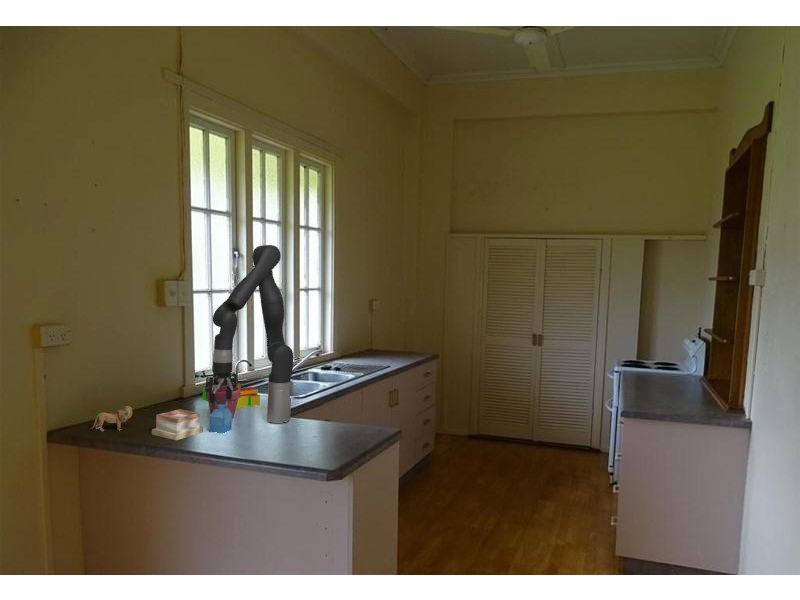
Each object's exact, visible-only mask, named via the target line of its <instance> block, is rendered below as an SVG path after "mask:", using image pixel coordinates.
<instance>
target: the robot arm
mask: <svg viewBox="0 0 800 600" xmlns="http://www.w3.org/2000/svg"><path fill="white" fill-rule="evenodd" d="M281 257H282V255H281V251H280V249H279V248H278V247H277V245H274V244H264V245H258V246H257V247H255V248H254V249H253V252H252V263H253V266H254V267H253V268H252V269H251V271H250V272H249V273H248V274H247V275H246V276H244V277H243V279H241V280H240V281H239V282H238V284H236V286H235V287H234V288H233V290H232V292H231V293H230V295H229V296H228V298H227V299H226V300H224V301H223V302H222V304H220V306H218V307H217V308H216V310H215V311H214V314H213V316H212V323H213V325H215V326H216V327H219V333H217V334H216V335H215V336H214V342H213V352H212V353H213V354H212V369H211V371H212V376H206V379H205V386H206V387H205V386H204V387H205V392H208V393H209V401H210V403H215V395H216V394H215V393H216V391H217V389H219V387H222V386H225V387H226V388H227V390H226V399H227V400H231V398H232V390H233V389H234V388H236V387H237V383H238V374H237V373H235V372H233V362H234V352H233V347H234V337H235V334H236V331H237V327H238V316H237V314H236V312H238V311H240V310H242V309H244V308H245V306H246V305H247V303H248V302H249V300H250V299H251V297H252V295H253V294H254V293H255V291H256V290H257V288H258V291H259V292H258V293H259V297H260V298H259V299H260V308H261V313H262V318H263V324H264V329H265V336H266V338H265V339H266V354H267V359H268V360H269V362H270V363H271V370H270V371H271V372H270V373H269V374H268V381H267V410H266V411H267V412H266V422H267V421H268V422H267V423H269V422H273V423H272V424H274V423H279V422H285V421H287V420H289V419H290V420H291V412H292V411H291V407H292V398H291V379H292V375H293V371H294V370H293V369H294V352H293V349H292V347H291V346H289V345H286V341H285V338H284V329H283V328H284V321H285V305H284V299H283V295H282V292H281V291H280V289H279V287H278V285H277V283H276V281H275V278H274V274H273V269H275V267H277V265H278V264H279V262H280V260H281ZM233 383H234V385H233ZM215 385H216V386H215ZM213 389H214V390H213ZM290 420H289V421H290Z"/></svg>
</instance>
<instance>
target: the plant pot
mask: <svg viewBox="0 0 800 600" xmlns="http://www.w3.org/2000/svg"><path fill="white" fill-rule="evenodd" d="M213 390H214V389H213ZM226 390H227V388H226V387H225V386H222V387H219V389H217V391H216V393H215V394H216V395H215V403H210V401H209V393H208V392H206V399H208V402H207V403H208V408H209V412H210V415H211V414H212V412H213V410H214V409H217V403H218V402H217V401H218V400H226V401H225V403H226V406H225V408H228V409H229V410H230V412H231V413H232V420H233V419H234V417H235V412H236V410H237V409H236V406H237V402H238V398H240V388H239V387H236V388H234V389H233V390H232V398H231V400H227V399H226Z"/></svg>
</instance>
